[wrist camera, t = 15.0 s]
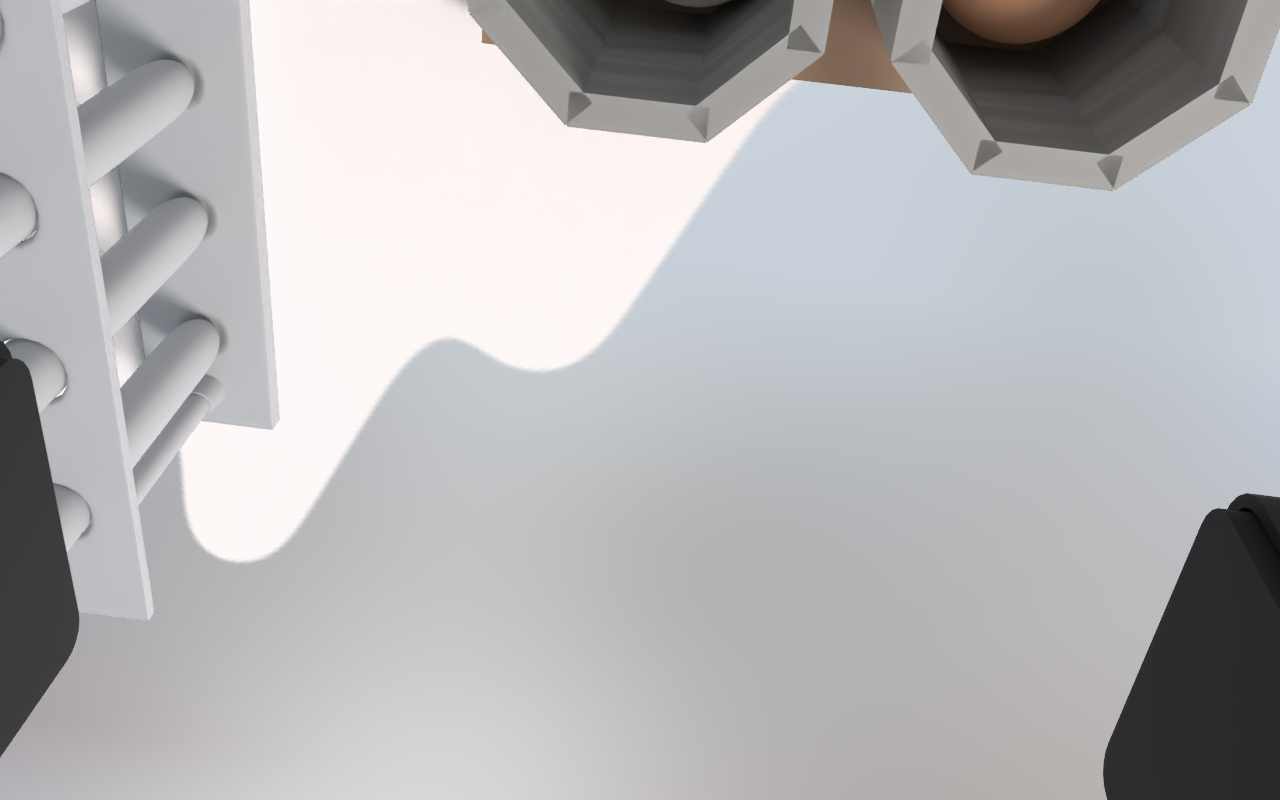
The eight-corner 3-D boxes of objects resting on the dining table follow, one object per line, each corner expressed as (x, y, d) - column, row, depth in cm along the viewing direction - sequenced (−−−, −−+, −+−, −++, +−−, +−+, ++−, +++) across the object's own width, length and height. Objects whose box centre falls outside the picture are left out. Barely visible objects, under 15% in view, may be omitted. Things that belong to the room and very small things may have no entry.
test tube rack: (280, 418, 44) (117, 678, 33) (161, 403, 44) (-43, 657, 33) (221, -401, 31) (-85, -435, 20) (51, -420, 31) (-350, -465, 20)
